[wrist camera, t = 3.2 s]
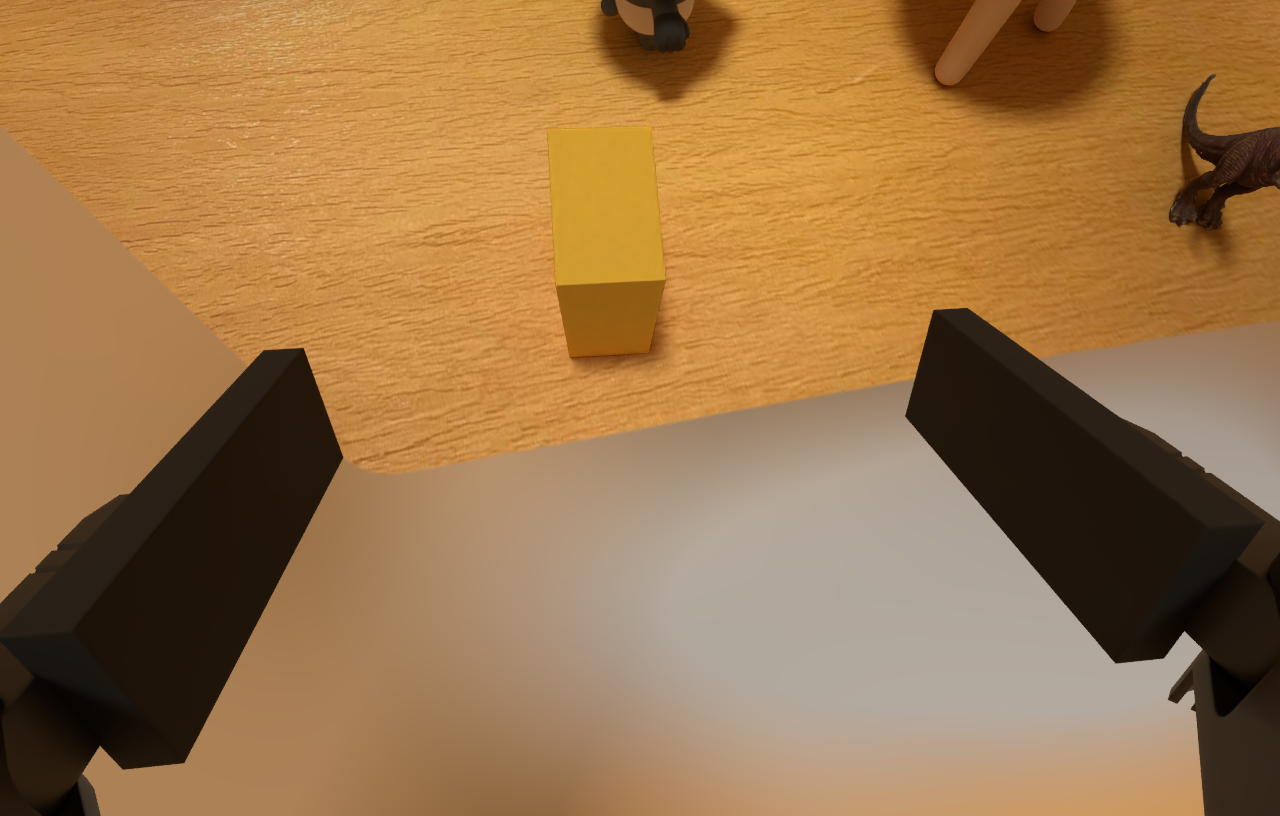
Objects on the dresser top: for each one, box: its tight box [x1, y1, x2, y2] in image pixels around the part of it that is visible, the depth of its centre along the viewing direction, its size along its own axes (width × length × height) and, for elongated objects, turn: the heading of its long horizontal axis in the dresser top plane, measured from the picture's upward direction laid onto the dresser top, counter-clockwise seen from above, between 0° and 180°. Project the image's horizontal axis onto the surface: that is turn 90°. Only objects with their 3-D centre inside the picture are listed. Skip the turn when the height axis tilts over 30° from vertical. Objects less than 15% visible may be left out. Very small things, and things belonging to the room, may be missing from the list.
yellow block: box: [547, 126, 666, 357], centre depth 33 cm, size 5×8×11 cm, turn 5°
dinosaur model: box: [1170, 74, 1280, 230], centre depth 38 cm, size 4×12×15 cm
